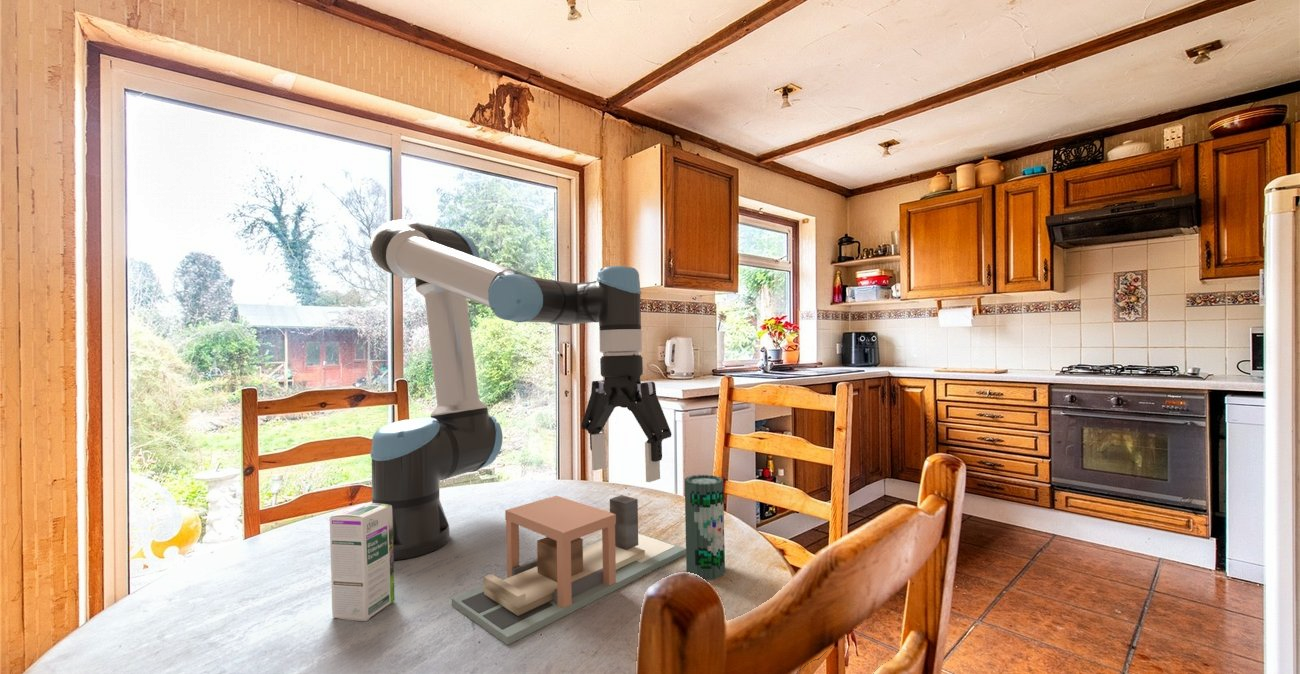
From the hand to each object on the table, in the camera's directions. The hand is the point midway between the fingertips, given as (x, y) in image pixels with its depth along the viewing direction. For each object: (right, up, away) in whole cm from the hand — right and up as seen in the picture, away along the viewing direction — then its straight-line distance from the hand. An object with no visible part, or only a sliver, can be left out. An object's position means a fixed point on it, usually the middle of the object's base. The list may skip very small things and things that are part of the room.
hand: (624, 474), depth 89 cm
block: (-10, -12, -10) cm, 19 cm away
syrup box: (-37, -15, -16) cm, 43 cm away
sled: (-8, -13, -9) cm, 18 cm away
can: (+14, -15, -6) cm, 21 cm away
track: (-7, -15, -7) cm, 18 cm away
